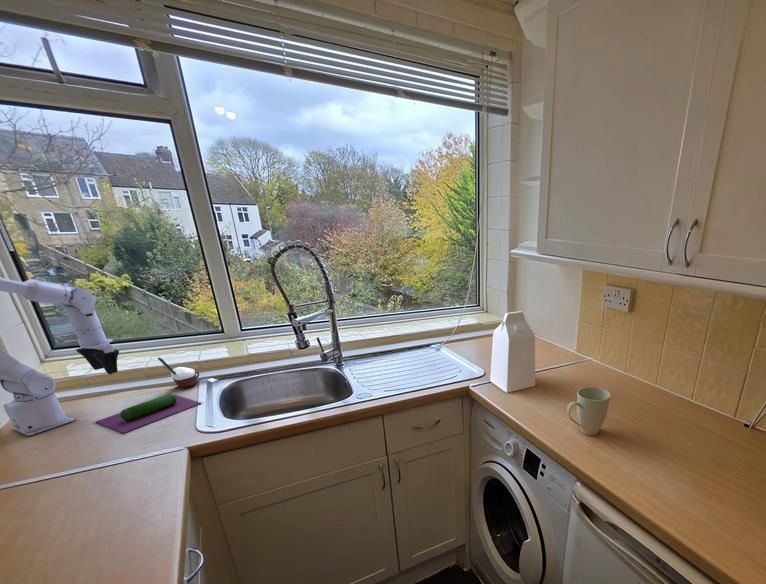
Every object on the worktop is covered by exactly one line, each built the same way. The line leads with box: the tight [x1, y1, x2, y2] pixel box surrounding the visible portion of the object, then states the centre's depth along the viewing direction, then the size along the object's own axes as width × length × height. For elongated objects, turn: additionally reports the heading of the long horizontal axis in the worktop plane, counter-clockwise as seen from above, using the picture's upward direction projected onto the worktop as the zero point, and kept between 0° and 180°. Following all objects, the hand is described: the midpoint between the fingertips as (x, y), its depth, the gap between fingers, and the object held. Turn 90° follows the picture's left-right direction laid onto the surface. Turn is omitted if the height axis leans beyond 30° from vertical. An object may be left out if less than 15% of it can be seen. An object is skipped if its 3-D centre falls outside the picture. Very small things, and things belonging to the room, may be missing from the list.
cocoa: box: [157, 357, 200, 389], centre depth 136 cm, size 10×6×12 cm, turn 136°
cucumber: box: [119, 393, 177, 421], centre depth 120 cm, size 14×4×4 cm, turn 156°
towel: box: [95, 393, 202, 434], centre depth 121 cm, size 20×14×1 cm
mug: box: [566, 386, 611, 436], centre depth 113 cm, size 11×10×12 cm
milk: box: [489, 310, 536, 394], centre depth 141 cm, size 12×12×26 cm
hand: (106, 370), depth 125 cm, fingers open, 7 cm apart
